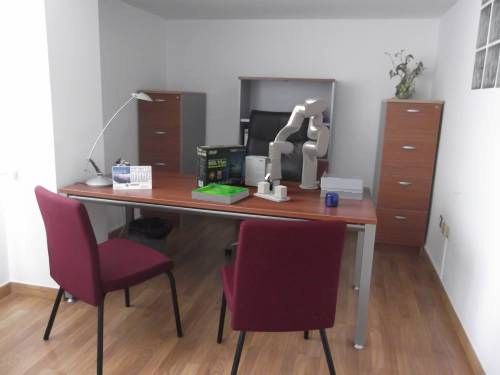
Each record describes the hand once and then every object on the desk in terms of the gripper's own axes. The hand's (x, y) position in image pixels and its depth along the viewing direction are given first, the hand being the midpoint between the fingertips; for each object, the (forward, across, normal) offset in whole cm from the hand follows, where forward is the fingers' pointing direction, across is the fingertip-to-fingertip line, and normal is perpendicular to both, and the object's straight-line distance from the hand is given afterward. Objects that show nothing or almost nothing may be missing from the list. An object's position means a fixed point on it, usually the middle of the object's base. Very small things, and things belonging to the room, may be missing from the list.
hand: (273, 189), depth 263 cm
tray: (+3, +36, -9) cm, 37 cm away
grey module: (+2, 0, 0) cm, 2 cm away
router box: (+2, +13, -36) cm, 38 cm away
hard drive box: (+2, -6, -21) cm, 22 cm away
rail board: (+2, +12, +10) cm, 16 cm away
